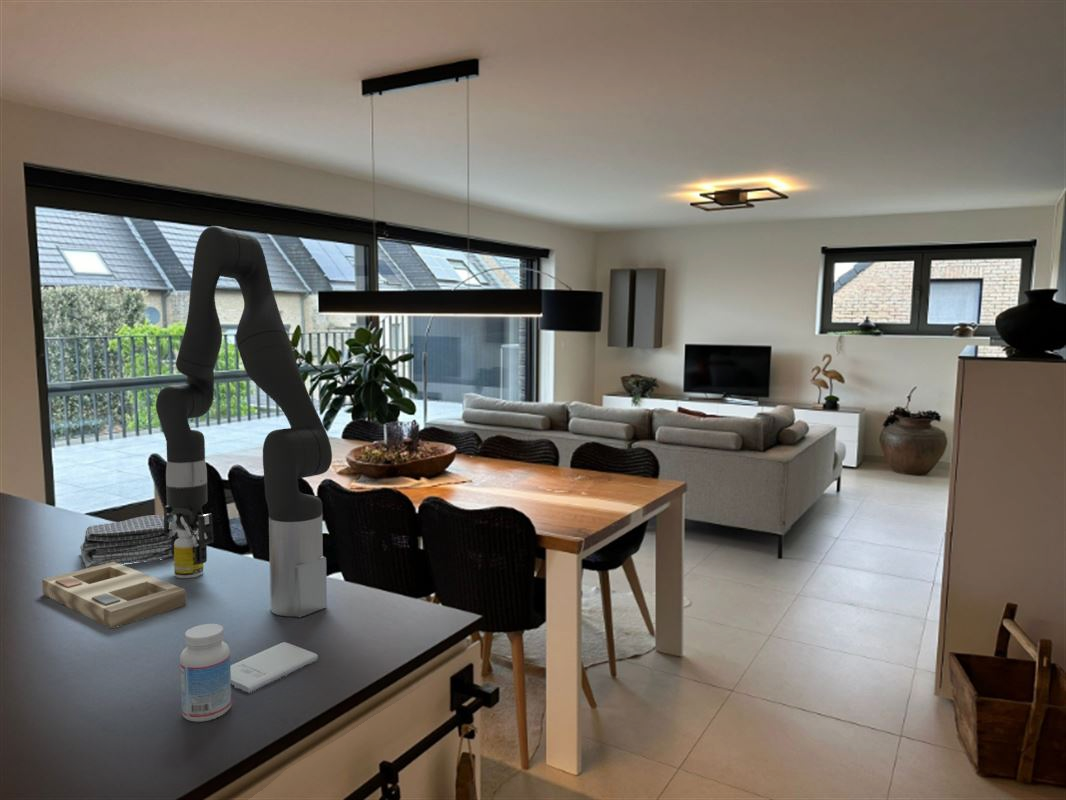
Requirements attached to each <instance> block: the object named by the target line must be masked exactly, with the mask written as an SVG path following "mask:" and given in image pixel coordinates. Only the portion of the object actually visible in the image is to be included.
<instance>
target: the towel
mask: <svg viewBox="0 0 1066 800" xmlns="http://www.w3.org/2000/svg"><path fill="white" fill-rule="evenodd" d="M171 523H172V522H170V523H169V527H170V525H171ZM79 547H80V553H81V556H82V557H81V558H82V561H83V564H84V563H85V564H84V566H85V568H84V569H87V568H91V567H95V566H99V565H103V564H107V563H111V562H116V563H119V564H124V563H134V562H144V561H151V562H154V561H153V560H158V561H161V560H160V559H163V560H165V559H168V558H171V557H174V556H173V555H172V550H171V538H169V534H168V533H167V534H165V533H164V515H158V514H153V515H152V514H151V515H142V516H139V517H137V516H136V517H133V518H129V519H126V520H122V521H116V522H110V523H103V524H95V525H90V526H88V527H87V528H86V530H85V535H84V541H83V544H82V543H81V544H80V546H79Z"/></svg>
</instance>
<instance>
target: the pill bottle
mask: <svg viewBox="0 0 1066 800" xmlns="http://www.w3.org/2000/svg"><path fill="white" fill-rule="evenodd" d="M224 637H225V635H224V627H223V625H220V624H217V623H205V624H199V625H196V626H193V627H190V628H188V630H186V631H185V633H184V644H185V646H186V647H185V648H184V649H183V650H182V651H181V653H180V656H179V668H180V669H179V675H180V696H181V697H180V698H181V700H180V702H181V714H182V716H183V718H184V719H185V720H188V721H190V722H196V723H198V722H208V721H211V720H212V719H213V720H215V719H217V717H218V718H219V717H221V716H222V715H225V714H226V713H227V712H228V711H229V710H230V708H231V707H232V703H233V701H232V685H231V671H230V666H231V650H230V646H229V644H227V643H226V642H225V641H224Z"/></svg>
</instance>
